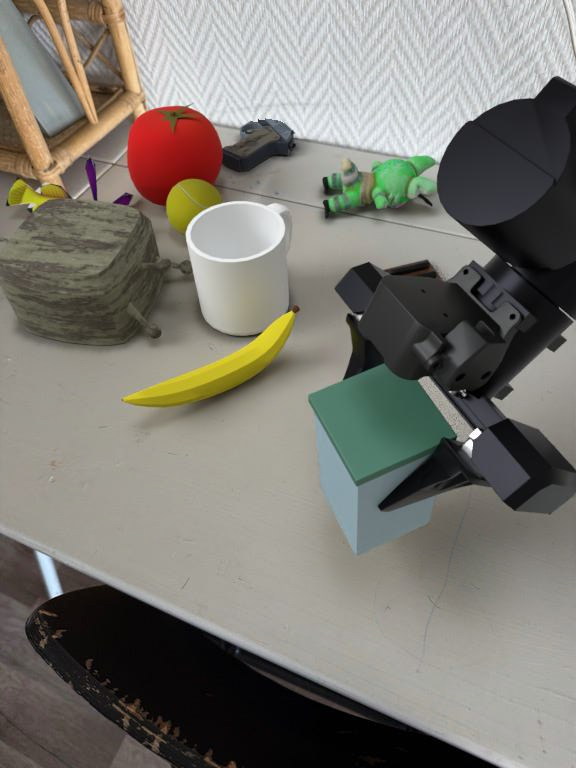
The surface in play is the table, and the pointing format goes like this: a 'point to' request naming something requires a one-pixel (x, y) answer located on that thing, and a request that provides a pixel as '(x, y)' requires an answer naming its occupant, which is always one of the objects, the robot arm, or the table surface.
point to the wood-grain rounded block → (84, 272)
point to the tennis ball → (190, 202)
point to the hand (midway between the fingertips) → (354, 465)
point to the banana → (219, 370)
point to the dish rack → (415, 270)
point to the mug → (241, 264)
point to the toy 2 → (380, 184)
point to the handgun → (258, 144)
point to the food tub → (374, 451)
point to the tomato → (171, 151)
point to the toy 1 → (55, 191)
